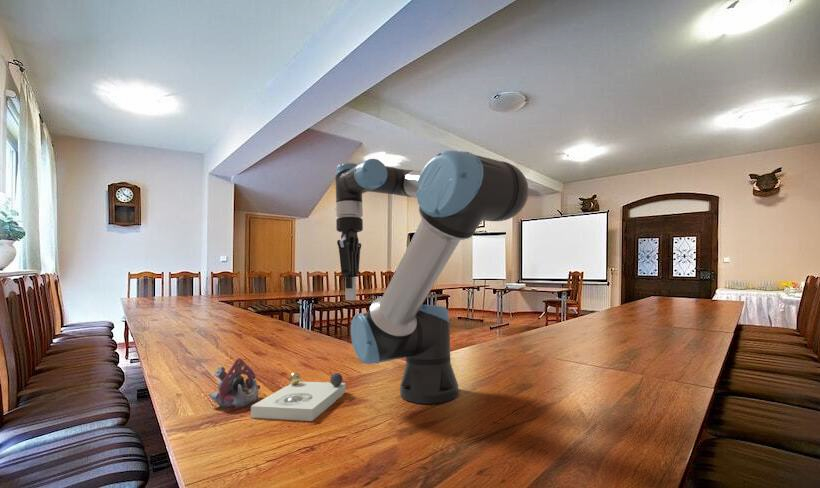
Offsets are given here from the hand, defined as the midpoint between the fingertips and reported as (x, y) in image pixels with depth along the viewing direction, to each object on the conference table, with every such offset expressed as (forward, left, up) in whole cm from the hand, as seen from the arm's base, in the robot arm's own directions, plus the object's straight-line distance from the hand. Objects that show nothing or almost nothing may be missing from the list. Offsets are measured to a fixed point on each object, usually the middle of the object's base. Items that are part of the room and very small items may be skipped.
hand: (350, 300), depth 102 cm
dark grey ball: (+2, +6, -20) cm, 21 cm away
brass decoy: (+14, +6, -20) cm, 25 cm away
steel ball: (+8, +18, -23) cm, 30 cm away
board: (+8, +13, -24) cm, 29 cm away
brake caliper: (+26, +14, -25) cm, 38 cm away
